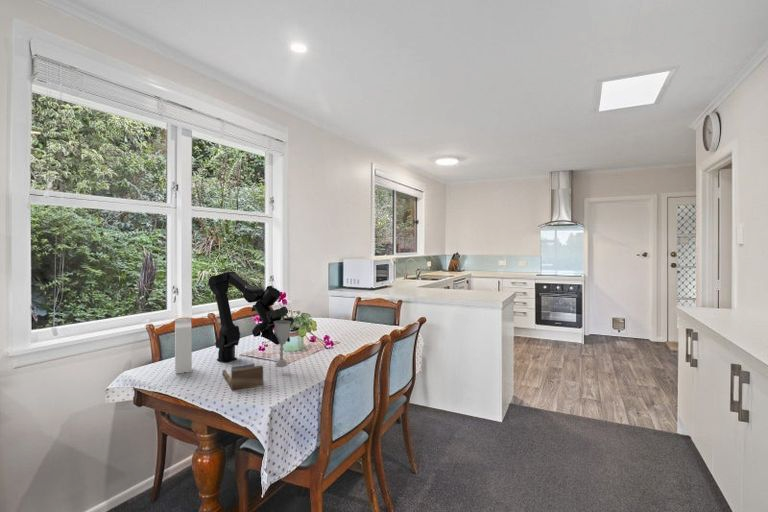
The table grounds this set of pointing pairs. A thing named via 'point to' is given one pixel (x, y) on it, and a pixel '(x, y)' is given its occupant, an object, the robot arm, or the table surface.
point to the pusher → (242, 366)
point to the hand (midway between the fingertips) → (283, 342)
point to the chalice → (282, 338)
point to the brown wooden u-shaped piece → (244, 377)
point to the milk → (183, 345)
